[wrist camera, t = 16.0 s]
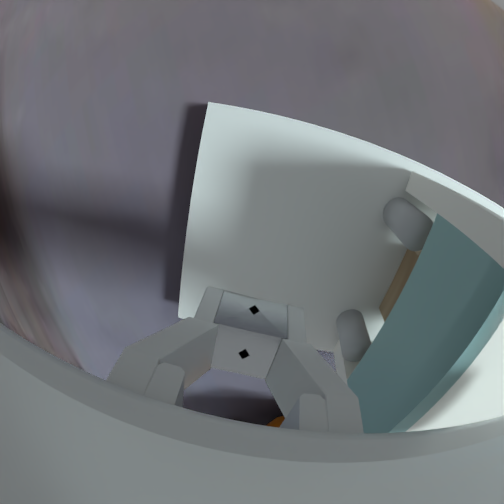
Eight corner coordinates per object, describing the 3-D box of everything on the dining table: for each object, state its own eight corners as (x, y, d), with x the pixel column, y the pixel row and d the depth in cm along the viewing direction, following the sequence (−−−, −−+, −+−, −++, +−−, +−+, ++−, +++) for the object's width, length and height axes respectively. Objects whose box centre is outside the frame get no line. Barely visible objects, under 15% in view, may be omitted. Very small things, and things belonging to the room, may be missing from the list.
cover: (333, 349, 16) (345, 466, 9) (411, 170, 11) (528, 239, 4) (430, 362, 16) (462, 451, 9) (510, 221, 11) (594, 291, 4)
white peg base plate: (185, 302, 18) (164, 345, 14) (216, 103, 12) (190, 98, 9) (424, 350, 18) (440, 389, 14) (500, 207, 12) (538, 231, 9)
